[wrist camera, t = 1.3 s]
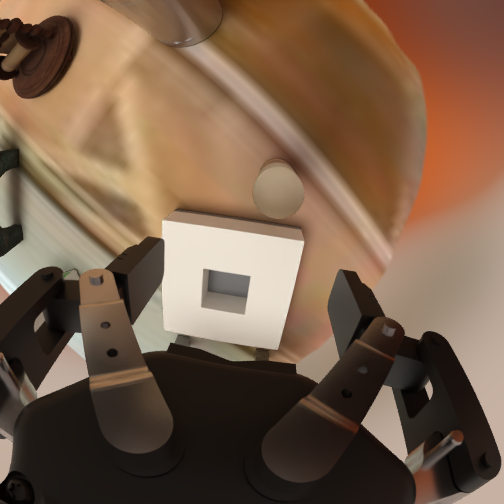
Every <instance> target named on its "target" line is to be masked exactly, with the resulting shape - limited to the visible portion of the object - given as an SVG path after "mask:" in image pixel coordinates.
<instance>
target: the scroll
mask: <svg viewBox="0 0 504 504" xmlns="http://www.w3.org/2000/svg"><path fill="white" fill-rule="evenodd" d="M73 42H74V27H73V24H72V22H71V21H70V20H69V19H67V18H65V17H63V16H53V17H50V18H47V19H46V20H44V21H42V22H41V23H40V24H39V25H38V24H36V25H33V26H32V24H23V22H21V20H20V19H19V18H14V19H12V20H11V21H10V20H9V19H2V20H0V53H4V54H8V55H7V56H0V80H9V79H12V78H13V87H14V90H15V92H16V93H17V95H18V96H20V97H21V98H26V99H27V98H28V99H31V98H36V97H38V96H40V95H42V94H43V93H44V92H46V91H47V90H48V89H49V88H50V87H51V86H52V85H53V84H54V82H55V81H56V80H57V78H58V77H59V75H60V74H61V72H62V71H63V69H64V67H65V65H66V63H67V61H70V60H72V58H73V57H72V56H71V55H70V53H71V50H72V47H73Z"/></svg>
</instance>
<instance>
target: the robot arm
mask: <svg viewBox="0 0 504 504" xmlns="http://www.w3.org/2000/svg"><path fill="white" fill-rule="evenodd" d="M100 1H101V2H103V3H105V4H106V5H108V6H110V7H111V8H113V9H114V10H116V11H118V12H119V13H121V14H122V15H124V16H125V17H127V18H128V19H130V20H131V21H133V22H134V23H135V24H137V25H138V26H140V27H141V28H143V29H144V30H145V31H147V32H148V33H149V34H151V35H152V36H154V37H155V38H156V39H158V40H159V41H160V42H162V43H163V44H165V45H168V46H172V47H187V46H191V45H194V44H197V43H199V42H201V41H203V40H205V39H206V38H208V37H209V36H210V35H211V34H212V33H213V32H215V30H216V29H217V28H218V26H219V24H220V22H221V20H222V15H223V13H222V7H221V5H220V2H219V0H100ZM164 255H165V242H164V239H161V238H155V237H149V236H148V237H146V238H145V239H144V240H143V241H142V242H141V243H140V244H139V245H134V246H131V247H129V248H127V249H126V250H125V251H124V252H122V254H120V255H119V256H118V257H117V259H115V260H114V261H112V262H111V263H110V264H109V265H108V266H107V267H106V268H105V269H92V270H88V271H86V272H84V273H83V274H82V275H81V276H80V278H79V280H64V275H63V271H62V270H61V269H60V268H58V267H46V268H42V269H40V270H38V271H37V272H36V273H34V274H33V275H32V276H31V277H30V278H29V279H27V280H26V281H25V282H24V283H23V284H22V285H21V286H20V287H18V288H17V289H16V290H15V291H14V292H13V293H12V294H11V295H10V296H9V297H8V298H7V299H6V300H5V301H4V302H3V303H1V304H0V439H5V438H7V439H9V440H10V441H11V442H13V451H12V460H11V465H10V470H9V473H8V475H7V477H6V479H5V480H4V481H3V482H2V483H1V484H0V504H452V503H454V502H456V501H458V500H460V499H461V498H463V497H465V496H466V495H468V494H470V493H471V492H473V491H475V490H476V489H478V488H479V487H481V486H483V485H484V484H485V483H487V482H488V481H490V480H491V479H493V478H494V477H496V475H497V474H498V472H499V471H500V468H501V456H500V453H499V450H498V447H497V444H496V442H495V439H494V436H493V434H492V431H491V428H490V426H489V423H488V421H487V418H486V416H485V414H484V411H483V409H482V407H481V405H480V403H479V400H478V398H477V396H476V394H475V392H474V390H473V387H472V386H471V383H470V381H469V379H468V377H467V375H466V373H465V372H464V370H463V368H462V366H461V364H460V362H459V360H458V358H457V357H456V355H455V353H454V351H453V349H452V348H451V346H450V344H449V343H448V341H447V340H446V339H445V338H444V337H443V336H442V335H440V334H438V333H436V332H432V331H427V332H425V333H424V334H423V335H422V337H421V339H420V340H417V339H413V338H410V337H407V336H404V335H405V331H404V329H403V327H402V326H401V325H400V324H399V323H398V322H396V321H395V320H393V319H391V318H387V317H385V314H384V313H383V311H382V309H381V307H380V305H379V303H378V301H377V300H376V298H375V296H374V294H373V292H372V290H371V289H370V288H369V287H368V286H366V285H365V284H364V283H362V282H361V280H360V279H359V277H358V275H357V273H356V272H354V271H348V270H342V269H340V270H339V271H338V273H337V276H336V279H335V282H334V285H333V288H332V291H331V294H330V297H329V301H328V314H329V317H330V321H331V325H332V329H333V333H334V337H335V341H336V345H337V349H338V353H339V358H340V360H339V361H338V362H337V363H336V364H335V365H334V367H333V368H332V369H331V370H330V371H329V373H328V374H327V375H326V376H325V377H324V378H323V379H322V381H321V382H320V383H319V384H318V383H316V382H315V381H313V380H311V379H309V378H308V377H305V376H303V375H300V374H297V373H296V364H290V363H282V362H274V361H266V360H261V361H229V360H227V359H224V358H221V357H219V356H216V355H214V354H211V353H209V352H206V351H204V350H201V349H197V348H192V347H188V346H183V345H179V344H175V343H170V345H169V347H168V350H167V351H153V352H147V353H143V354H142V353H141V350H140V347H139V345H138V342H137V339H136V337H135V334H134V331H133V328H132V326H131V325H133V324H134V323H135V321H136V319H137V318H138V316H139V315H140V313H141V312H142V310H143V309H144V307H145V306H146V304H147V303H148V301H149V300H150V298H151V297H152V295H153V294H154V292H155V291H156V289H157V288H158V287H159V285H160V284H161V282H162V280H163V276H164ZM42 312H43V316H44V319H45V321H44V322H43V323H42V325H41V326H40V327H39V328H38V329H37V331H36V332H35V331H34V323H35V320H36V318H37V317H38V316H39V315H40V314H41V313H42ZM75 332H77V333H82V338H83V345H84V352H85V358H86V363H87V369H88V374H89V377H88V378H86V379H83V380H81V381H79V382H76V383H74V384H72V385H69V386H67V387H65V388H62V389H60V390H58V391H55V392H53V393H51V394H48V395H46V396H43V397H40V398H38V399H37V392H36V391H37V389H38V388H39V386H40V384H41V382H42V381H43V380H44V378H45V376H46V375H47V373H48V372H49V370H50V369H51V367H52V365H53V364H54V362H55V361H56V359H57V358H58V356H59V354H60V353H61V352H62V350H63V349H64V347H65V346H66V345H67V343H68V342H69V340H70V339H71V337H72V336H73V335H74V333H75ZM429 380H430V382H431V384H432V387H433V394H432V397H431V399H430V400H429V397H428V395H427V392H426V389H425V385H426V384H427V383H428V381H429ZM383 385H386V386H390V387H392V390H393V394H394V398H395V401H396V405H397V409H398V413H399V417H400V421H401V425H402V429H403V434H404V438H405V442H406V447H407V452H408V456H407V457H406V460H405V463H403V462H402V461H401V460H400V459H399V458H398V457H397V456H395V455H394V454H393V453H392V452H391V451H390V450H389V449H388V448H386V447H385V446H384V445H383V444H382V443H381V442H380V441H379V440H378V439H377V438H375V436H373V435H372V434H371V433H370V432H369V431H368V430H367V429H366V428H365V427H364V426H363V425H362V424H361V422H362V421H363V419H364V418H365V416H366V414H367V413H368V411H369V409H370V407H371V406H372V404H373V402H374V400H375V399H376V397H377V395H378V393H379V391H380V389H381V388H382V386H383Z"/></svg>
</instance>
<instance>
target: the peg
mask: <svg viewBox="0 0 504 504" xmlns="http://www.w3.org/2000/svg"><path fill="white" fill-rule="evenodd" d="M253 199H254V202H255V205H256V206H257V208H258V209H259V210H260V211H261V212H262V213H263V214H265V215H266V216H268V217H271V218H276V219H282V218H286V217H289V216H291V215H293V214H294V213H296V212H297V211H298V210H299V208H300V207H301V205H302V203H303V200H304V187H303V184H302V182H301V181H300V179H299V178H298V176H297V175H296V173H295V172H294V170H293V169H292V167H291V166H290V165H289V164H288V163H287V162H286V161H284V160H282V159H271V160H269V161H267V162H266V163H265V164H264V165H263V166H262V168H261V170H260V172H259V175H258V177H257V180H256V182H255V185H254V188H253Z"/></svg>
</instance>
